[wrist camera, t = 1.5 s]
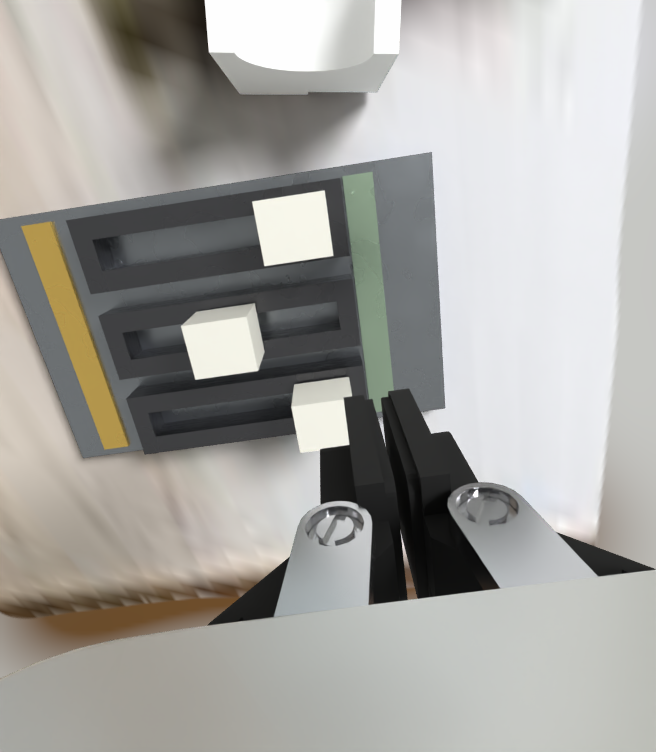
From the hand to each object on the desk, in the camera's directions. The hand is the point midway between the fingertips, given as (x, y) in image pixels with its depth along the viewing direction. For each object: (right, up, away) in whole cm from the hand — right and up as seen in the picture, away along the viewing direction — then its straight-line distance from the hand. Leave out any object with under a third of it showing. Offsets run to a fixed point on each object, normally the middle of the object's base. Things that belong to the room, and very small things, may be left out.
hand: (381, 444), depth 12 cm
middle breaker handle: (-7, +5, +15) cm, 17 cm away
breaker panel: (-7, +5, +16) cm, 18 cm away
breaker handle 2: (-2, +1, +16) cm, 17 cm away
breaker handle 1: (-3, +10, +13) cm, 17 cm away
